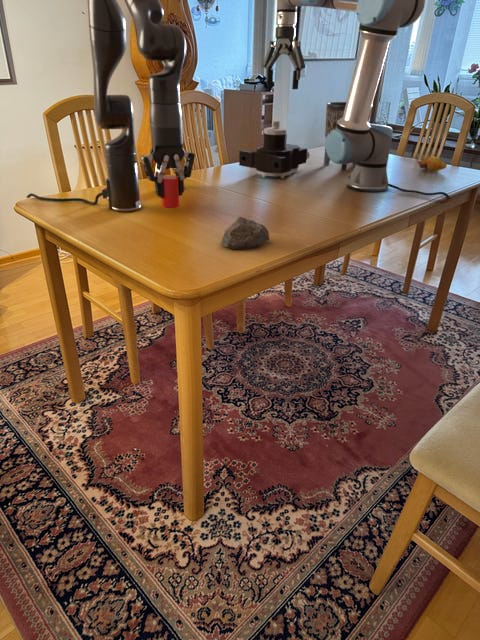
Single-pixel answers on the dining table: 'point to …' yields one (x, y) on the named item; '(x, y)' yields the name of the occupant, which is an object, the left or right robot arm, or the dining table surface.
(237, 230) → the rock
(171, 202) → the canister
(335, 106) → the planter
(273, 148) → the mechanical component
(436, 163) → the toy
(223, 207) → the dining table surface
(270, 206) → the dining table surface
